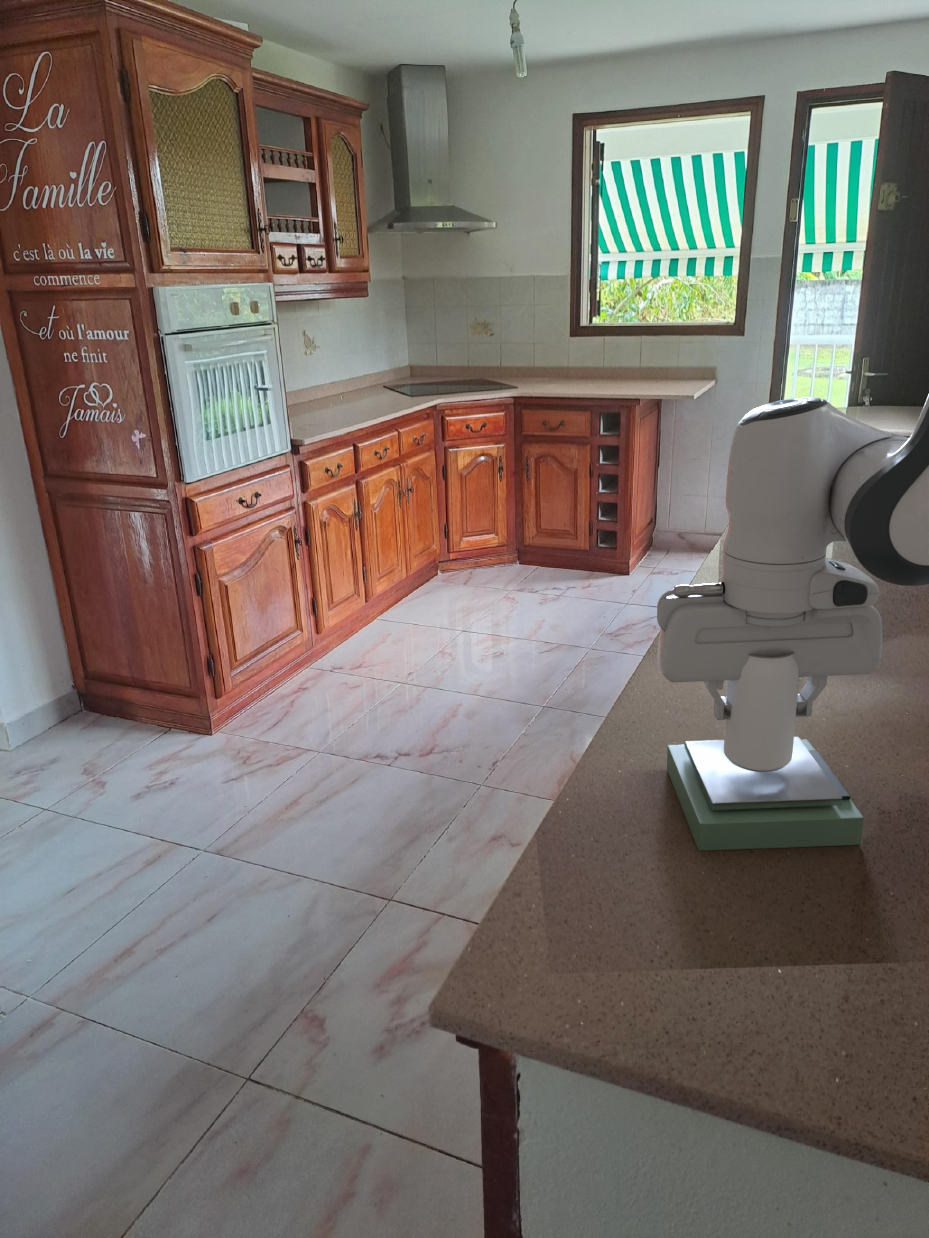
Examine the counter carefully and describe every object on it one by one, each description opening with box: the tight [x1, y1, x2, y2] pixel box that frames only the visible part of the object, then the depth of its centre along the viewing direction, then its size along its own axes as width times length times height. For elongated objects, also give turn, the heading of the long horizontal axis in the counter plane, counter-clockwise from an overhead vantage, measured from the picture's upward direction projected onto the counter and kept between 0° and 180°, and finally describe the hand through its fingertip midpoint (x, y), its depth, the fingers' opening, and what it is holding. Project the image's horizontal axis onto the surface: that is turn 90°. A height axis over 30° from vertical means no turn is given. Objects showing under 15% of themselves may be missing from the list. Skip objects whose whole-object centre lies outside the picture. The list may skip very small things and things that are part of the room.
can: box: [723, 652, 800, 772], centre depth 85 cm, size 6×6×12 cm
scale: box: [666, 739, 864, 852], centre depth 88 cm, size 15×15×3 cm
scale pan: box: [684, 736, 842, 810], centre depth 88 cm, size 12×12×1 cm
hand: (762, 715), depth 86 cm, fingers closed on can, 6 cm apart
